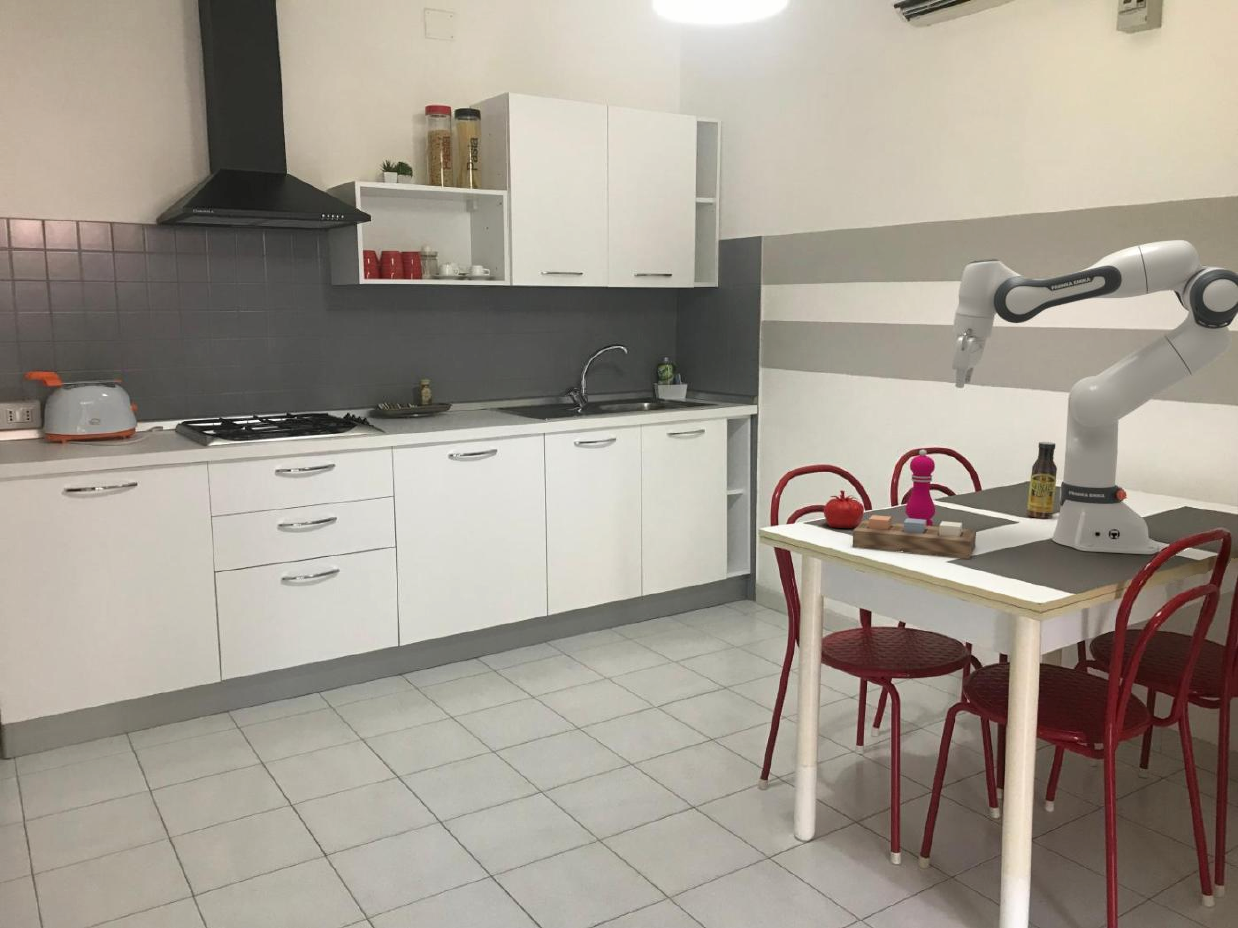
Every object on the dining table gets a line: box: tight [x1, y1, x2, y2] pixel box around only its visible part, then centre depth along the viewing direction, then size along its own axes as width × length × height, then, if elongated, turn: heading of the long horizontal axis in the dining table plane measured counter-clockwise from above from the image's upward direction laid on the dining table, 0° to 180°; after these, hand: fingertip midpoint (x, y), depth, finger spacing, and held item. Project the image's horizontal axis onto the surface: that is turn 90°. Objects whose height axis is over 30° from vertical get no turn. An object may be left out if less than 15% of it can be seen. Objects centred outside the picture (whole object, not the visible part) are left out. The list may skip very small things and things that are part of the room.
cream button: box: [939, 520, 963, 537], centre depth 230 cm, size 4×4×4 cm
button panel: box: [852, 519, 977, 560], centre depth 234 cm, size 26×12×4 cm, turn 65°
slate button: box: [903, 517, 926, 534], centre depth 233 cm, size 4×4×4 cm
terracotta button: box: [868, 514, 892, 530], centre depth 237 cm, size 4×4×4 cm
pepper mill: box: [905, 449, 936, 526], centre depth 252 cm, size 7×7×20 cm
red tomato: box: [823, 490, 865, 529], centre depth 255 cm, size 10×10×9 cm
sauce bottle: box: [1026, 441, 1058, 519], centre depth 264 cm, size 6×6×20 cm
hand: (962, 385), depth 241 cm, fingers open, 8 cm apart
